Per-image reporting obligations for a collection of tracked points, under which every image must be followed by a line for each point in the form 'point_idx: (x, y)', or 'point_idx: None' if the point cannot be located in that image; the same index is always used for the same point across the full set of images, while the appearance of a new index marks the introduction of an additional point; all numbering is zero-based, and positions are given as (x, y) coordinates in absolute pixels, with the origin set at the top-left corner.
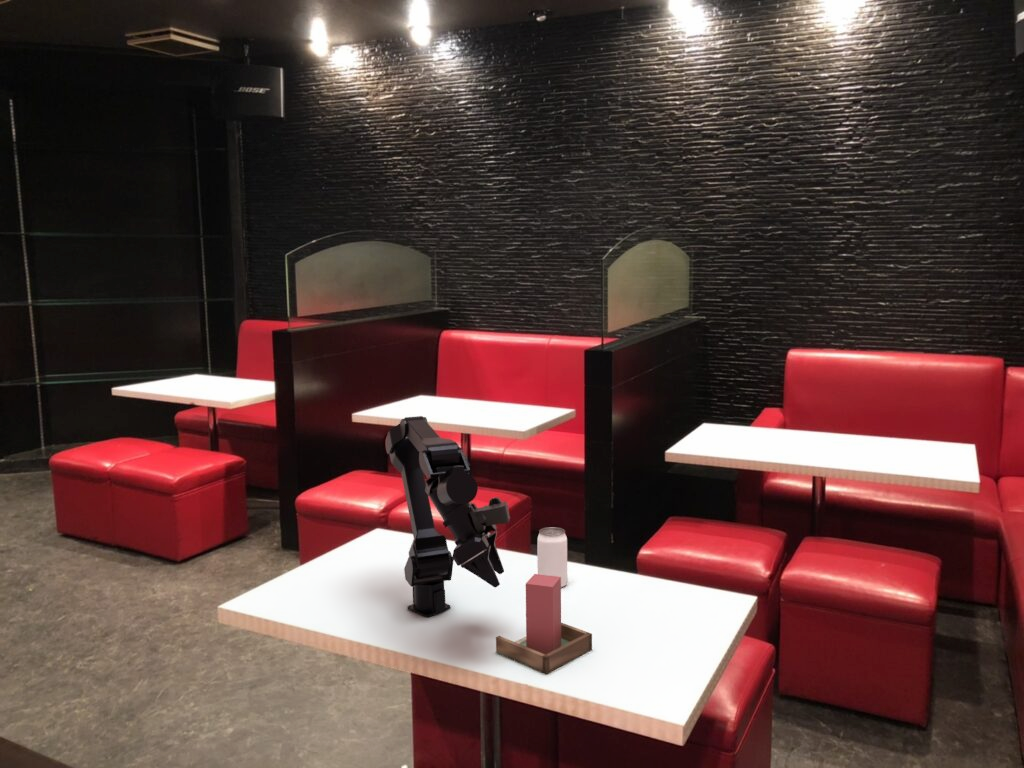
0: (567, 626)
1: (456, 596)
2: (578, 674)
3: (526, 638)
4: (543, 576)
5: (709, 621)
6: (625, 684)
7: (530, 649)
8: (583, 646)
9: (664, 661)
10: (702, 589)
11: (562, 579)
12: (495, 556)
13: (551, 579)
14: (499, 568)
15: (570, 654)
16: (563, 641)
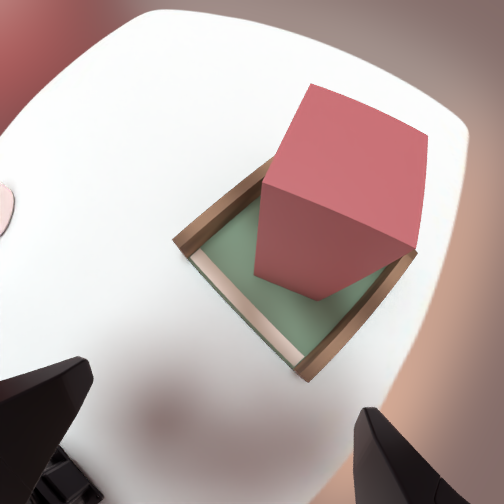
0: (251, 182)
1: None
2: None
3: (327, 295)
4: (307, 143)
5: (203, 28)
6: None
7: (383, 287)
8: None
9: (331, 80)
10: (108, 36)
11: (5, 190)
12: (22, 408)
13: (347, 118)
14: (75, 383)
15: None
16: (259, 208)
